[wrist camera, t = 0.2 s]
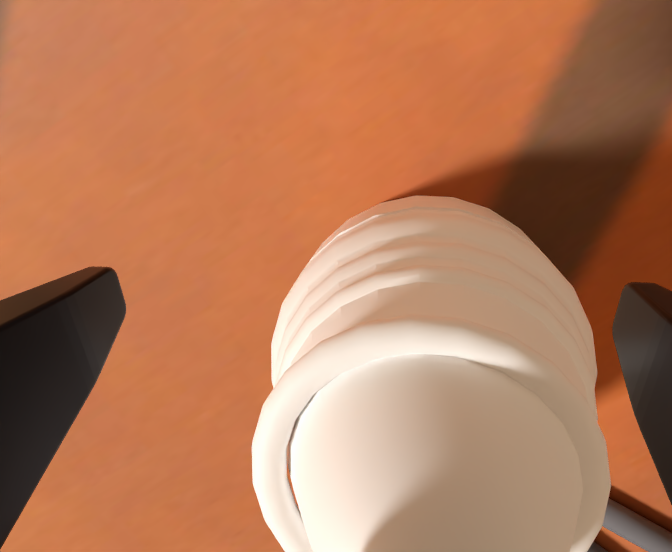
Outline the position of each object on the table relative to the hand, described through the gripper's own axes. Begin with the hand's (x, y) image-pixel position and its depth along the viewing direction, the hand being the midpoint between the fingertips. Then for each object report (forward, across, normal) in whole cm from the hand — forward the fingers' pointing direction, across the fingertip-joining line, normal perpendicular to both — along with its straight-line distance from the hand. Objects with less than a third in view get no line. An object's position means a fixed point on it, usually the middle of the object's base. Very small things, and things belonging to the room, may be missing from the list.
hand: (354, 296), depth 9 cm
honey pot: (+14, -2, +10) cm, 17 cm away
